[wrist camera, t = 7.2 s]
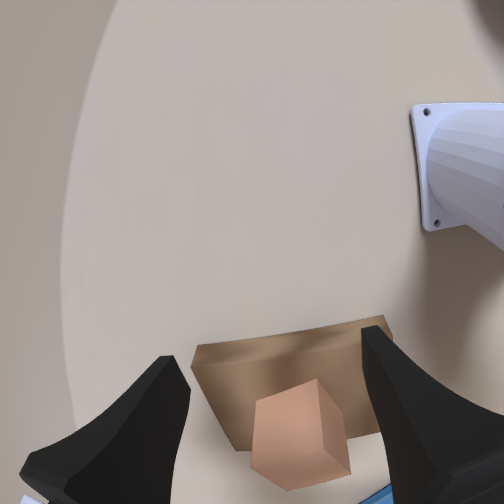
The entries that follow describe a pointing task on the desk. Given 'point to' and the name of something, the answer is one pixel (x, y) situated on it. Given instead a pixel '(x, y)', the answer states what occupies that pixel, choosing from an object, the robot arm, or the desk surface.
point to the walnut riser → (287, 375)
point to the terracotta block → (299, 438)
